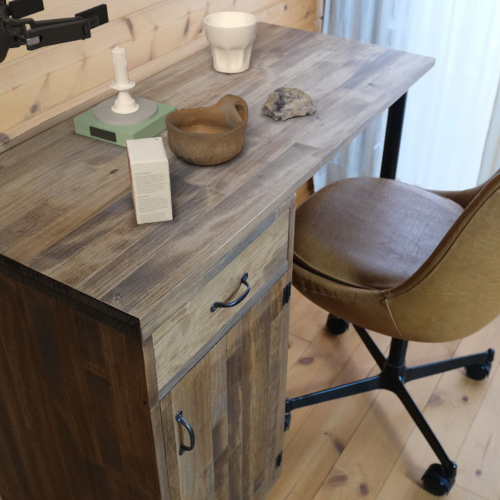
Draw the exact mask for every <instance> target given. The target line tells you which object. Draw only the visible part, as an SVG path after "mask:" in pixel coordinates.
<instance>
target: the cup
mask: <svg viewBox="0 0 500 500" xmlns="http://www.w3.org/2000/svg"><path fill="white" fill-rule="evenodd" d="M202 19H203V21H202V22H203V26H204V33H205V38H206V40H207V42H208V43H209V47H210V51H211V52H210V53H211V57H212V62H213V69H214V70H215V71H217V72H219V73H223V74H239V73H244V72H245V71H248V69H249V68H250V62H251V56H252V50H253V45H254V42H255V41H256V39H257V30H258V23H259V19H258V17H257V16H256V15H254V14H252V13H249V12H244V11H235V10H233V11H232V10H231V11H220V12H213V13H210V14H208V15H206V16H205V17H203V18H202Z"/></svg>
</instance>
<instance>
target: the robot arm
mask: <svg viewBox="0 0 500 500" xmlns="http://www.w3.org/2000/svg"><path fill="white" fill-rule="evenodd" d="M44 11H45V3H44V0H11V1H8V2H7V0H0V64H2V63H3V62H4V61H5V60H6V58H7V56H8V54H9V51H10V49H17V48H20V47H21V46H26V47H25V48H26V50H27V51H30V52H32V51H35V50H38V49H42V48H46V47H50V46H56V45H61V44H64V43H71V42H76V41H86V40H88V39H91V38H92V32H91V30H92V29H96V28H98V27H100V26H103V25H105V24H108V23H110V21H109V19H110V18H109V13H108V11H109V10H108V4H107V3H101V4H99V5H96V6H93V7H90V8H88V9H85V10H83V11H82V10H81V11H79V12H77V13H74V16H71V17H62V18H61V17H59V18H51V19H42V20H41V19H40V20H35V19H34V18H32V17H28V16H32V15H34V14H37V13H40V12H44ZM27 25H28V26H29V28H27Z"/></svg>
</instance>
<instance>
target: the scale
mask: <svg viewBox="0 0 500 500" xmlns="http://www.w3.org/2000/svg"><path fill="white" fill-rule="evenodd" d="M117 96H118V94H116V95H114V96H112V97H111V98H108V99H106V100H104V101H102V102H99V103H98V104H96V106H94V107H92V108H90V109H89V110H87V111H85V112H83V113H81V114H79V115H77V116H75V117H74V118H73V119H72V121H73V127H74V130H75V134H78V135H81V136H84V137H88V138H92V139H95V140H99V141H102V142H106V143H110V144H113V145H117V146H119V147H120V146H121V147H124V148H126V140H133V139H144V138H154V137H157V135H159V134H161V133H162V132H163V131H165V130H167V127H166V123H165V119H166V116H167V115H168V114H170V113H172V112H175V111H177V110H178V108H177V106H175V105H170V104H166V103H162V102H158V101H154V100H151V99H149V98H146V97H142V96H141V97H140V96H132V95H131V97H132V98H133V99H134V100H135V102H136V103H137V104H138V105H139V106H140V108H139V110H137V111H136V112H133V113H130V114H118V113H115V112H113V111H112V110H111V108H112V106H113V105H114V102H115V100H116V99H117Z"/></svg>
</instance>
